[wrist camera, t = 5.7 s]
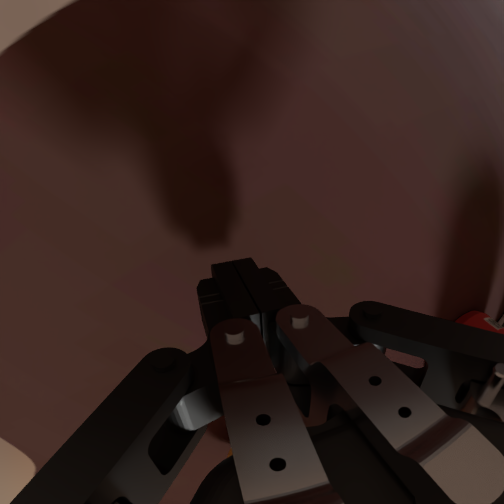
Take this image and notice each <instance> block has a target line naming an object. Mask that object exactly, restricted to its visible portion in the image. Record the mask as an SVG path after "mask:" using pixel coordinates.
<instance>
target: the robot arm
mask: <svg viewBox="0 0 504 504" xmlns="http://www.w3.org/2000/svg"><path fill="white" fill-rule="evenodd" d="M211 271H212V278H209V279H203V280H200V282H199V284H198V286H197V294H198V300H199V305H200V311H201V316H202V322H203V325H204V329H205V333H206V336H207V340H206V342H205V343H204V344H203V345H202V346H201V347H200V348H198V349H197V350H195V351H193V352H191V353H189V354H186V353H185V352H184V351H182V350H180V349H177V348H161V349H157V350H154V351H152V352H150V353H149V354H147V355H146V356H145V357H144V358H143V359H142V360H141V361H140V362H139V363H138V364H137V365H136V366H135V367H134V369H133V370H132V371H131V372H130V373H129V374H128V375H127V376H126V377H125V378H124V379H123V380H122V381H121V383H120V384H119V385H118V386H117V387H116V388H115V389H114V390H113V391H112V392H111V393H110V394H109V396H108V397H107V398H106V399H105V400H104V401H103V402H102V403H101V404H100V405H99V406H98V407H97V409H96V410H95V411H94V412H93V413H92V414H91V415H90V416H89V417H88V418H87V419H86V420H85V422H84V423H83V424H82V425H81V426H80V427H79V428H78V429H77V430H76V431H75V432H74V434H73V435H72V436H71V437H70V438H69V439H68V440H67V441H66V442H65V443H64V444H63V445H62V447H61V448H60V449H59V450H58V451H57V452H56V453H55V454H54V455H53V456H52V458H51V459H50V460H49V461H48V462H47V463H46V464H45V465H44V466H43V467H42V468H41V470H40V471H39V472H38V473H37V474H36V475H35V476H34V477H33V478H32V479H31V481H30V482H29V483H28V484H27V485H26V486H25V487H24V488H23V489H22V491H21V492H20V493H19V494H18V495H17V496H16V497H15V498H14V499H13V501H12V502H11V503H10V504H158V503H159V502H160V500H161V499H162V497H163V496H164V494H165V493H166V491H167V490H168V488H169V487H170V485H171V484H172V482H173V481H174V479H175V478H176V476H177V475H178V473H179V472H180V470H181V469H182V467H183V466H184V464H185V463H186V461H187V460H188V458H189V457H190V455H191V453H192V452H193V450H194V449H195V447H196V446H197V444H198V442H199V441H200V439H201V438H202V436H203V435H204V433H205V431H206V429H207V424H208V423H210V422H212V421H214V420H216V419H217V418H219V417H221V416H223V415H224V416H225V421H226V426H227V430H228V435H229V440H230V444H231V449H232V453H233V455H231V456H229V457H228V458H226V459H225V460H223V461H222V462H221V463H219V464H218V465H217V466H216V467H214V468H213V469H212V470H211V471H210V472H209V473H208V475H207V476H206V477H205V479H204V480H203V481H202V483H201V485H200V486H199V488H198V490H197V492H196V493H195V495H194V497H193V499H192V501H191V502H190V504H504V334H501V333H497V332H493V331H489V330H485V329H481V328H477V327H473V326H469V325H465V324H461V323H457V322H453V321H449V320H445V319H441V318H437V317H433V316H429V315H425V314H421V313H418V312H414V311H410V310H406V309H402V308H398V307H395V306H391V305H387V304H383V303H379V302H375V301H363V302H359V303H357V304H355V305H353V306H352V307H351V309H350V312H349V317H334V318H328V317H325V316H324V315H323V314H322V313H321V312H320V311H319V310H318V309H316V308H315V307H312V306H309V305H304V304H301V303H300V301H299V300H298V299H297V297H296V296H295V295H294V294H293V292H292V291H291V290H290V288H289V287H287V285H286V283H285V282H284V281H283V280H282V278H281V277H280V276H279V274H278V273H277V272H275V271H273V270H271V269H269V268H267V267H266V268H261V269H259V268H258V267H257V265H256V264H255V262H254V261H253V259H252V258H251V257H250V258H245V259H239V260H234V261H229V262H223V263H218V264H212V265H211ZM386 348H389V349H392V350H396V351H399V352H403V353H406V354H410V355H413V356H417V357H420V358H423V359H424V360H425V361H426V362H427V364H426V365H425V366H424V367H422V368H413V367H410V366H406V365H403V364H399V363H396V362H393V361H391V360H390V359H388V358H387V357H386V356H385V352H386ZM274 368H275V369H274ZM275 370H276V371H275ZM276 372H277V373H276Z"/></svg>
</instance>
